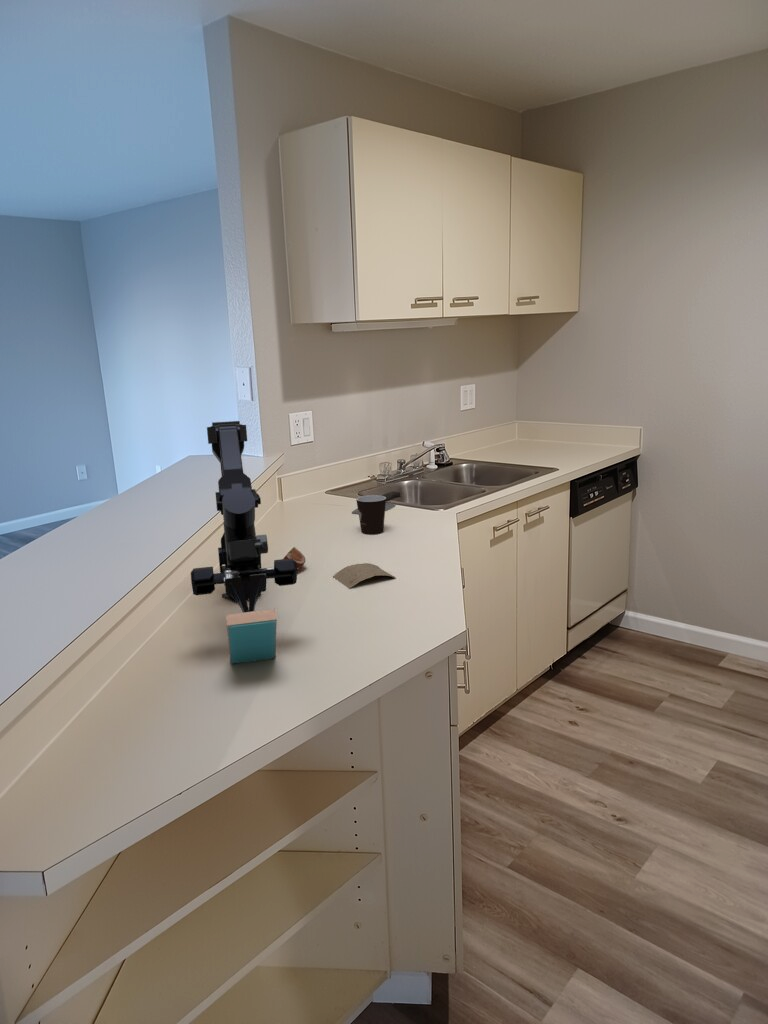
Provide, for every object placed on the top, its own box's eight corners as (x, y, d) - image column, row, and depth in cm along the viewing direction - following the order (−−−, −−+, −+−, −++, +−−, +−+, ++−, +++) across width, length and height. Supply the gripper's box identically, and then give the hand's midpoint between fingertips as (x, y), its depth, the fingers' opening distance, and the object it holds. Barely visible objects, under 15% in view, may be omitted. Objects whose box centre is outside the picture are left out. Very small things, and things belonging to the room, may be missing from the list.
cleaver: (387, 496, 259) (387, 490, 258) (412, 497, 254) (412, 491, 254) (349, 516, 233) (348, 510, 232) (376, 518, 229) (376, 512, 228)
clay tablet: (380, 569, 179) (380, 558, 178) (401, 580, 170) (401, 569, 170) (327, 580, 172) (327, 569, 171) (347, 592, 163) (347, 581, 163)
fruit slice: (283, 564, 183) (282, 545, 182) (309, 565, 182) (308, 546, 181) (274, 575, 175) (272, 555, 174) (301, 575, 174) (300, 556, 173)
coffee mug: (384, 536, 206) (383, 501, 204) (355, 535, 207) (353, 501, 205) (390, 525, 217) (389, 493, 215) (362, 525, 219) (361, 492, 216)
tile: (229, 652, 129) (226, 614, 118) (274, 647, 131) (275, 608, 120) (230, 664, 128) (227, 627, 117) (275, 658, 130) (276, 621, 119)
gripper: (185, 525, 126) (191, 606, 118) (292, 515, 130) (305, 593, 122) (190, 556, 135) (196, 633, 127) (290, 546, 140) (301, 620, 132)
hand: (249, 619), depth 127 cm, fingers closed
